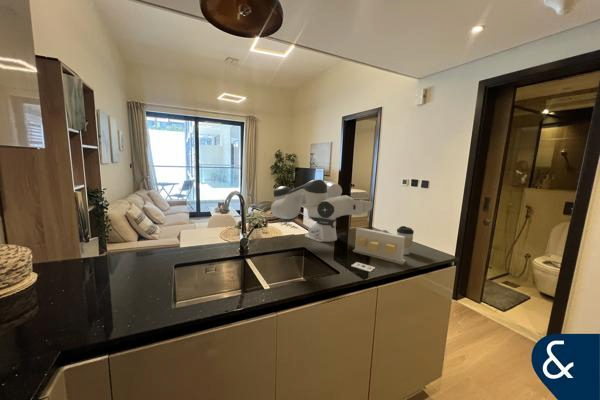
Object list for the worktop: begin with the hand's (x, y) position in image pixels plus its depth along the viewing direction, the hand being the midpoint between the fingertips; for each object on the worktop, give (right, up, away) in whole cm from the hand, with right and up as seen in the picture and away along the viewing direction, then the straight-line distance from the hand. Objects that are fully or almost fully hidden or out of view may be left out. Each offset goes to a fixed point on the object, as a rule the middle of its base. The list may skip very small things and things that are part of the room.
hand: (357, 201), depth 122 cm
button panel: (+14, -30, +14) cm, 37 cm away
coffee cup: (+32, -30, +21) cm, 49 cm away
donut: (+24, -28, +34) cm, 50 cm away
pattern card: (+3, -32, 0) cm, 33 cm away
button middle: (+12, -25, +10) cm, 30 cm away
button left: (+7, -24, +17) cm, 30 cm away
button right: (+20, -26, +7) cm, 33 cm away
